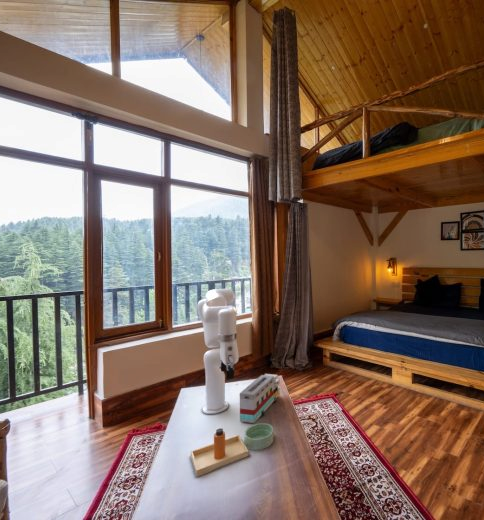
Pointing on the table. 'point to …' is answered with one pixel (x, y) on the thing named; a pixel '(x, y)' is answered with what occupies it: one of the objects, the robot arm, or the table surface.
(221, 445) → the bottle
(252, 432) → the bowl
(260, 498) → the table surface
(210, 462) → the tray
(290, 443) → the table surface
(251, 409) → the multicoloured piece
